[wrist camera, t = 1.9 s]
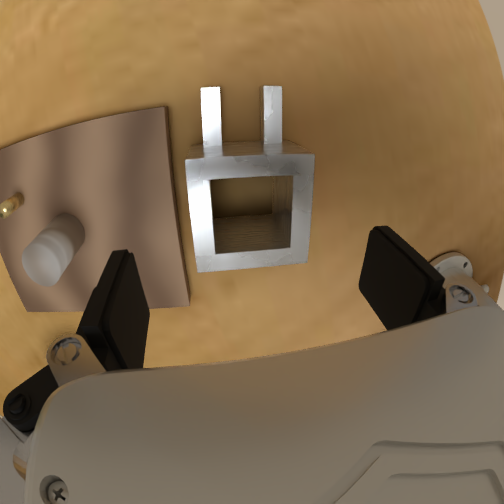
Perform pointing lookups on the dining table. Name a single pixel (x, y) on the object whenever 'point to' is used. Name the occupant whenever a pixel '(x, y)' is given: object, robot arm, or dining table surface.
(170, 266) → the post board
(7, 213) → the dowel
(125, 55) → the dining table surface
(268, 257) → the bracket
